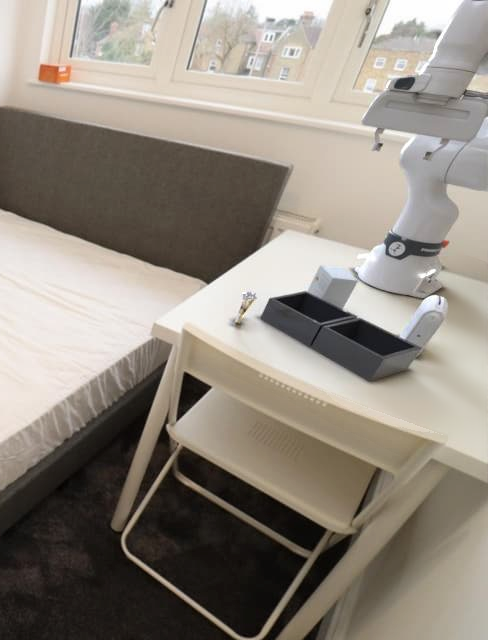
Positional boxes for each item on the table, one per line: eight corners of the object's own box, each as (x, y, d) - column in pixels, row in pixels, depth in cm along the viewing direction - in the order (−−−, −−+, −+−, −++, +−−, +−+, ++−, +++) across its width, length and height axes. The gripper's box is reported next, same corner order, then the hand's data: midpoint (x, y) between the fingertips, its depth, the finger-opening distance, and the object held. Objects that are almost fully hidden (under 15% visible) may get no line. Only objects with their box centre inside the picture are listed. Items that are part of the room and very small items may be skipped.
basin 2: (347, 338, 117) (359, 317, 114) (407, 369, 107) (422, 347, 104) (310, 347, 113) (322, 326, 109) (369, 381, 103) (384, 358, 100)
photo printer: (418, 360, 111) (453, 311, 103) (394, 352, 113) (427, 303, 106) (420, 342, 117) (453, 294, 110) (397, 335, 119) (429, 288, 112)
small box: (337, 319, 124) (359, 281, 118) (312, 316, 125) (333, 277, 119) (324, 304, 131) (344, 267, 125) (301, 301, 131) (320, 264, 125)
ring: (240, 330, 117) (254, 300, 113) (226, 325, 119) (239, 295, 115) (248, 319, 122) (262, 290, 117) (235, 315, 124) (247, 285, 119)
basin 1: (295, 310, 127) (305, 290, 124) (345, 337, 117) (358, 316, 114) (259, 318, 123) (269, 298, 120) (308, 346, 113) (320, 325, 110)
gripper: (502, 95, 103) (457, 165, 110) (383, 80, 113) (349, 145, 120) (506, 93, 98) (459, 167, 105) (382, 78, 109) (347, 146, 116)
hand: (400, 155), depth 113 cm, fingers open, 8 cm apart
